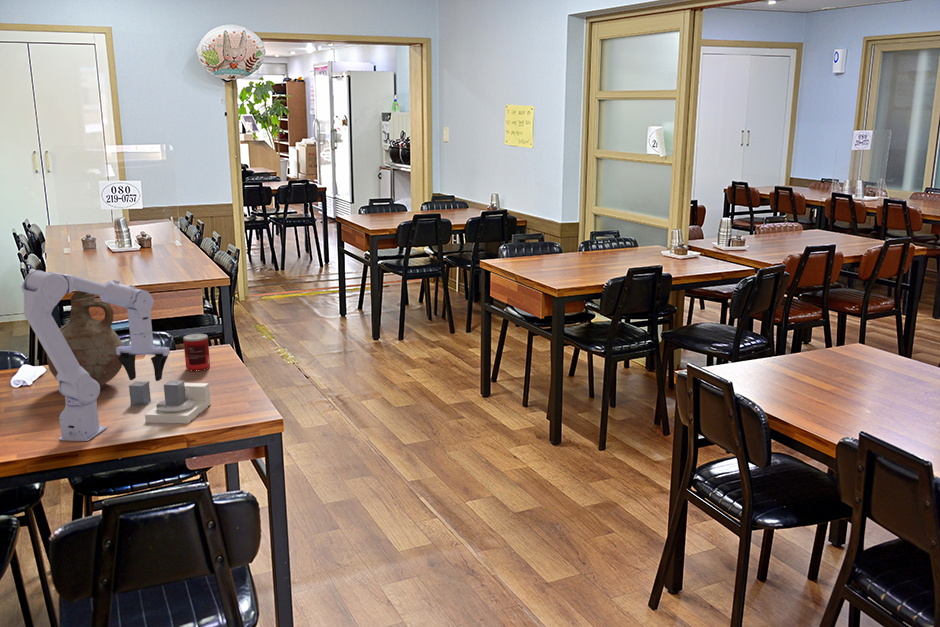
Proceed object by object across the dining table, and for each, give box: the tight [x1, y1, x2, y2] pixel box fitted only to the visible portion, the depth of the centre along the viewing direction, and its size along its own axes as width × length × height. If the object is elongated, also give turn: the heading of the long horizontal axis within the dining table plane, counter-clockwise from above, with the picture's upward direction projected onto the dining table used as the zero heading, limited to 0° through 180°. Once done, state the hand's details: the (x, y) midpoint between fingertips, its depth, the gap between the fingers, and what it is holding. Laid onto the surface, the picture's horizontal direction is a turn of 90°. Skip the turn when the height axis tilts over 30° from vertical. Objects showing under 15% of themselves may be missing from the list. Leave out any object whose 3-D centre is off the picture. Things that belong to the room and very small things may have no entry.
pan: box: [155, 398, 195, 412], centre depth 220 cm, size 10×10×1 cm
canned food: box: [182, 333, 211, 372], centre depth 263 cm, size 8×8×11 cm
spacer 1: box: [128, 380, 152, 407], centre depth 230 cm, size 4×4×6 cm
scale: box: [144, 382, 211, 424], centre depth 221 cm, size 15×12×6 cm
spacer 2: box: [163, 379, 186, 406], centre depth 220 cm, size 4×4×6 cm
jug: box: [46, 290, 124, 390], centre depth 242 cm, size 22×22×30 cm
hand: (145, 379), depth 220 cm, fingers open, 7 cm apart
